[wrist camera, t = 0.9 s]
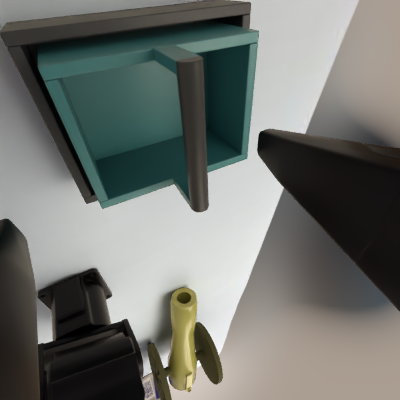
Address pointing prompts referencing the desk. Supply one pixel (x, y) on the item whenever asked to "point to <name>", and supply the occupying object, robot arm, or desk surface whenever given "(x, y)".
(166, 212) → the desk surface
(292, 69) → the desk surface
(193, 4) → the box
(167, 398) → the cannon
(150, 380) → the energy drink
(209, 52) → the teal basket
